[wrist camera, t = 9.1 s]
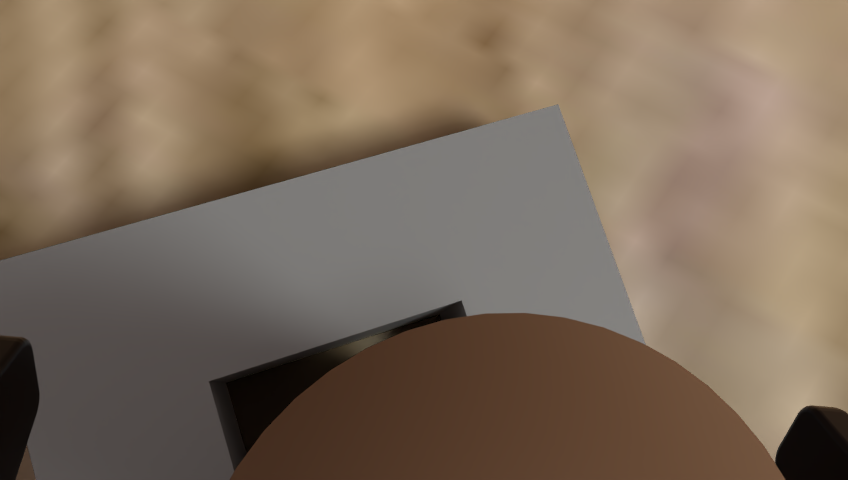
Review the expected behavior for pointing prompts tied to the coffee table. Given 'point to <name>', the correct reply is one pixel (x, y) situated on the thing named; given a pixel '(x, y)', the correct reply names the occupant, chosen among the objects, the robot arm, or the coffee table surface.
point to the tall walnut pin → (508, 411)
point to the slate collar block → (295, 289)
